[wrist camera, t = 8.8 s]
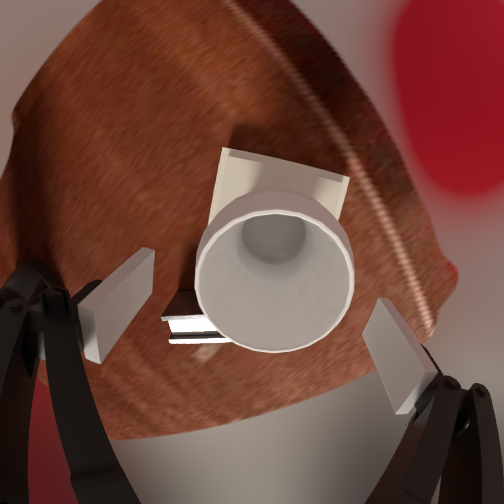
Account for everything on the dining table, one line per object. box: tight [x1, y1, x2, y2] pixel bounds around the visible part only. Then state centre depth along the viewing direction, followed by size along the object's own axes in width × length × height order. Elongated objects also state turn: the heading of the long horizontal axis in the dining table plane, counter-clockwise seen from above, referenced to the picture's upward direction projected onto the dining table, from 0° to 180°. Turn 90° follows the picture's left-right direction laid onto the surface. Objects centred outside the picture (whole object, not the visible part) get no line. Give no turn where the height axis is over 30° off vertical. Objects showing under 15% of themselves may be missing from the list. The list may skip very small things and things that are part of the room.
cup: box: [195, 188, 354, 353], centre depth 23 cm, size 11×11×15 cm
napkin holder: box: [161, 289, 232, 343], centre depth 35 cm, size 10×4×7 cm, turn 98°
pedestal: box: [208, 147, 350, 226], centre depth 32 cm, size 14×14×4 cm
